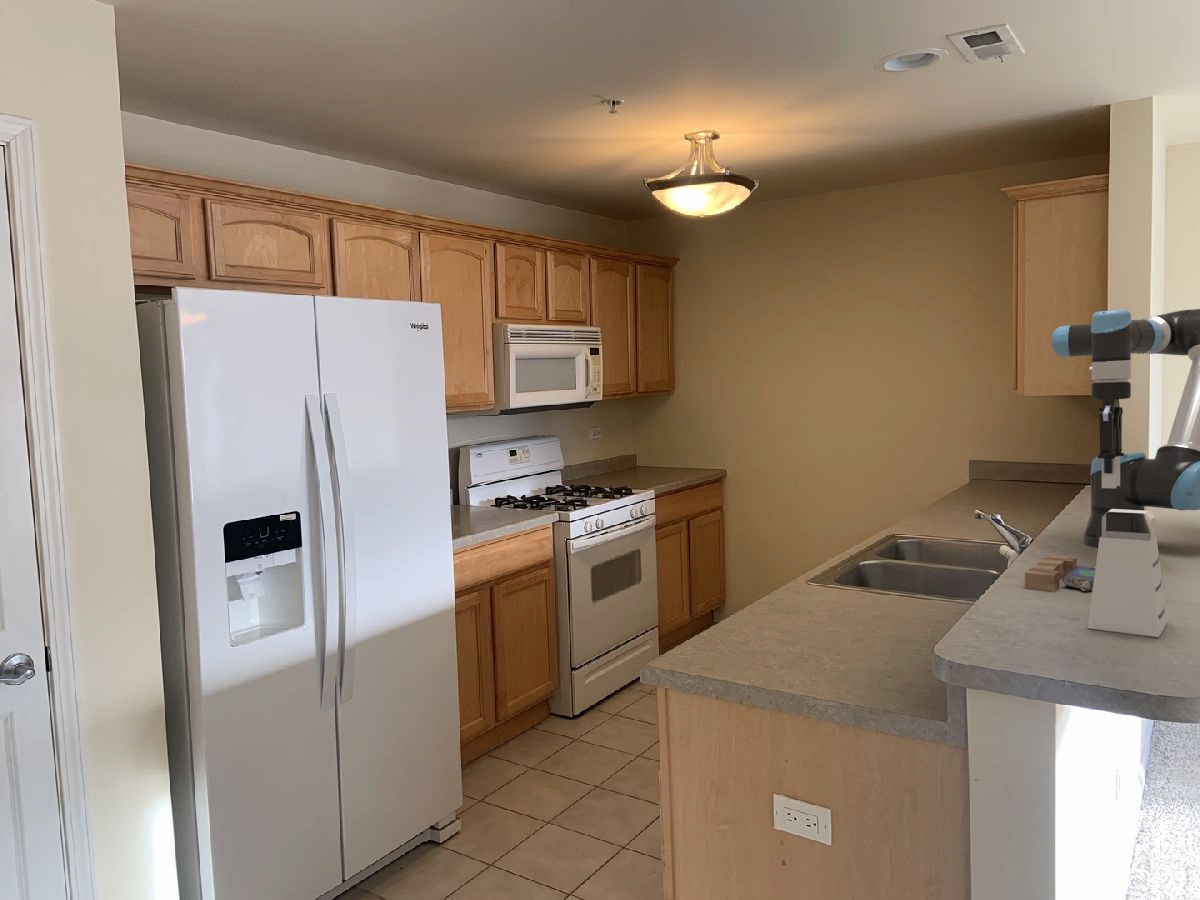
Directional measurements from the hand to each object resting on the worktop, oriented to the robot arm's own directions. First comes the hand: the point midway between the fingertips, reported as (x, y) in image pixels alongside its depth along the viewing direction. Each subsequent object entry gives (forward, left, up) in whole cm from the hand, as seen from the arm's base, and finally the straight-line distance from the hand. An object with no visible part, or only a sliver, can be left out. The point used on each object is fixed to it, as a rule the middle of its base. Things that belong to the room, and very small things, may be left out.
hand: (1110, 486), depth 197 cm
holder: (+19, 0, -19) cm, 26 cm away
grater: (+49, +11, -19) cm, 53 cm away
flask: (+17, 0, -19) cm, 26 cm away
